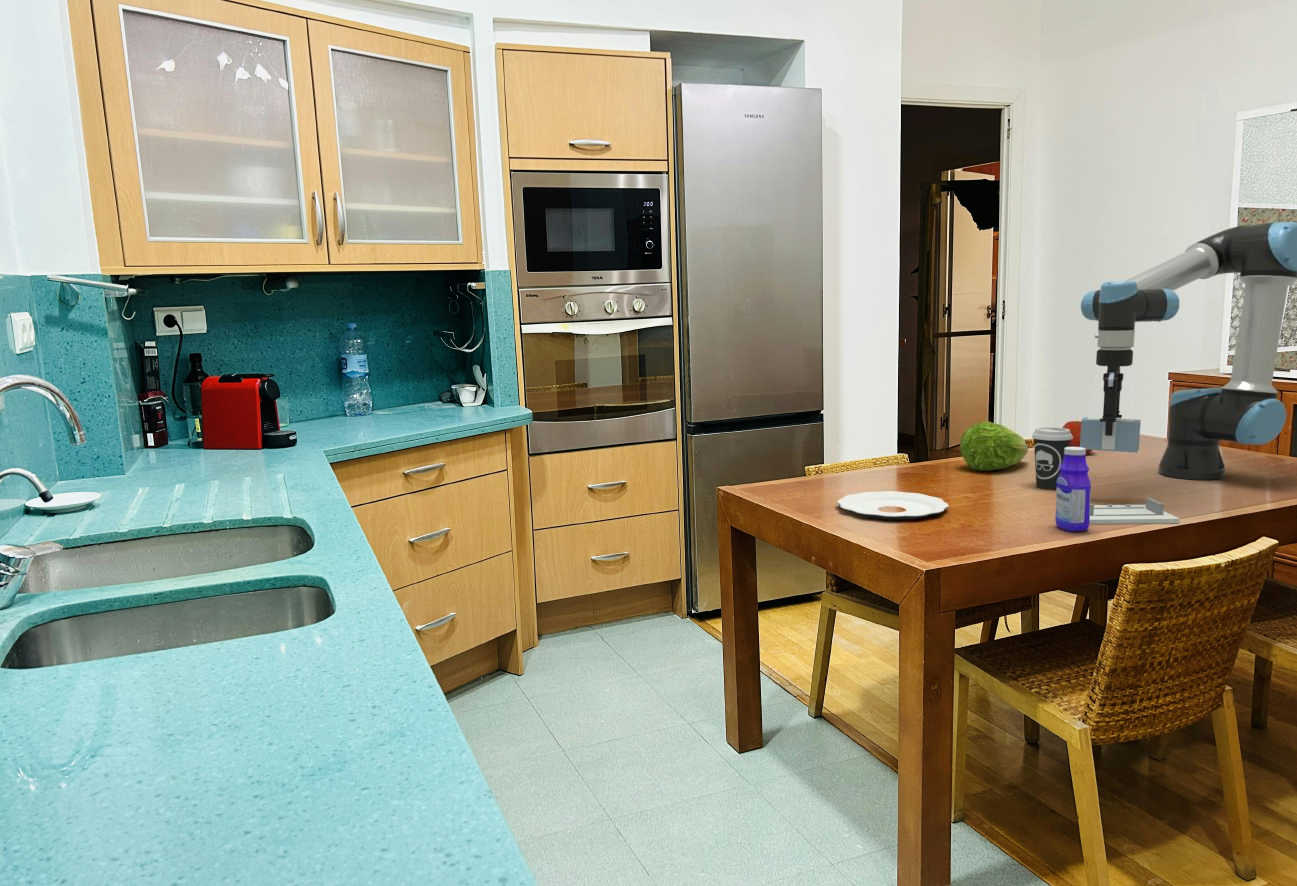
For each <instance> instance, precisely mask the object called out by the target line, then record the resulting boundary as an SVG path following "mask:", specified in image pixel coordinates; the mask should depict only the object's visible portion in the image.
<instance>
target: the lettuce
mask: <svg viewBox="0 0 1297 886" xmlns="http://www.w3.org/2000/svg"><path fill="white" fill-rule="evenodd" d="M959 451H960V454H961V457H962V458H963V460H964V462H965V463H967V465H968V467H969V468H970V469H971V470H974V471H975V470H976V471H980V472H981V471H982V472H983V471H984V472H985V471H986V472H987V471H988V472H989V471H999V470H1003V469H1007V468H1010V467H1011V466H1013V465H1016V464H1018V463H1020V462H1021V461H1022V460H1023V459H1024V458H1025V456H1027V454H1028V453H1029V447H1028V445H1027V442H1026V441H1025V439H1024V438H1023V437H1022V436H1021V435H1020V434H1018V433H1016V432H1014V431H1013V430H1011V429H1010V428H1008V427H1006V426H1005V425H1001V424H1000V423H995V422H991V421H981V422H978V423H976V424H973V425H972V426H970V427H969V428H967V429H965V430H964V431H963V433H962V435H961V437H960V440H959Z"/></svg>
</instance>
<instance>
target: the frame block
mask: <svg viewBox="0 0 1297 886" xmlns="http://www.w3.org/2000/svg"><path fill="white" fill-rule="evenodd" d="M1100 419H1103V418H1102V417H1092V416H1091V417H1090V416H1089V417H1087V416H1085V417H1083V418H1082V419H1081V421H1080V422H1081V437H1080V447H1082V448H1085V449H1088V450H1092V451H1105V452H1119V453H1121V452H1123V453H1124V452H1125V453H1135V454H1136V453H1138V451H1139V448H1140V437H1141V436H1140V434H1141V423H1142V422H1141V419H1133V418H1128V419H1127V418H1116V421H1115V422H1116V437H1115V450H1109V449H1102V432H1103V422H1100Z"/></svg>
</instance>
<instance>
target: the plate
mask: <svg viewBox="0 0 1297 886" xmlns="http://www.w3.org/2000/svg"><path fill="white" fill-rule="evenodd" d="M836 503H837V504H838V505H839V506H840V507H839V508H841V509H842V510H844V511H847V512H851V513H853V514H856V515H858V516H862V517H864V518H865V517H866V518H870V519H871V518H872V519H877V520H889V521H890V520H893V521H896V520H897V521H898V520H900V521H902V520H903V521H905V520H915V519H923V518H928V517H930V516H933V515H938V514H939V515H940V514H941V513H944V511H945V510H946V509H948V508H949V506H950V505H949V503H947V502H945V501H944V500H943V499H942V498H940V497H936V496H930V495H927V494H924V493H918V492H905V491H895V490H893V491H892V490H890V491H889V490H888V491H886V490H885V491H884V490H883V491H864V492H859V493H853V494H852V493H851V494H846V495H844V496H843V497H842V498H840V499H837V501H836ZM883 507H897V508H903V509H904V510H905V511H901V512H900V511H899V512H885V511H881V510H880V509H879V508H883Z"/></svg>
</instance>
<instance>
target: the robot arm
mask: <svg viewBox="0 0 1297 886" xmlns="http://www.w3.org/2000/svg"><path fill="white" fill-rule="evenodd" d="M1238 273H1239V279H1240V281H1241V282H1242V283H1243V284H1244V285H1245V288H1244V292H1243V293H1244V295H1243V299H1242V301H1243V302H1242V306H1241V313H1240V318H1239V324H1238V331H1237V337H1236V342H1235V343H1236V344H1235V351H1234V356H1233V362H1232V369H1231V374H1230V379H1229V382H1228V383H1226V384H1225V385H1223V386H1222V387H1217V388H1216V387H1213V388H1212V387H1211V388H1210V387H1209V388H1195V389H1183V390H1182V389H1181V390H1176V391H1174V392H1172V394H1171V396H1170V404H1169V412H1168V413H1169V414H1168V416H1169V417H1168V434H1167V435H1168V437H1167V438H1168V439H1167V445H1166V448H1165V450H1164V453H1163V455H1162V457H1161V459H1160V462H1159V464H1158V473H1159V474H1160V475H1163V476H1166V477H1170V478H1177V479H1185V480H1197V481H1198V480H1201V481H1203V480H1206V481H1207V480H1208V481H1209V480H1219V479H1223V478H1225V477H1226V467H1225V463H1224V460H1223V457H1222V454H1221V450H1220V441H1225V442H1230V443H1231V442H1232V443H1238V444H1241V445H1254V446H1255V445H1257V446H1262V445H1265V444H1268V443H1270V442H1272V441H1273V440H1274V439H1275V438H1276V437H1278V436H1279V434H1280V433H1281V431H1282V430H1283V429H1284V426H1285V423H1286V419H1287V409H1286V408H1285V407H1286V406H1285V404H1284V403H1283V402H1282V401H1280V400H1279V399H1278V395H1279V394H1278V393H1279V391H1278V390H1277V389H1276V388H1275V387H1274V386H1273V379H1274V378H1273V377H1274V372H1275V366H1276V361H1277V360H1276V359H1277V355H1278V354H1277V353H1278V350H1279V349H1278V348H1279V344H1280V343H1279V342H1280V335H1281V329H1282V325H1283V318H1284V314H1285V313H1284V310H1285V306H1286V300H1287V295H1288V287H1289V286H1291V285H1292V284H1293V283H1295V282H1296V281H1297V221H1276V222H1270V223H1269V222H1268V223H1259V224H1251V225H1238V226H1234V227H1231V228H1227V229H1225V230H1222V231H1219V232H1217V233H1215V234H1212V235H1210V236H1208V237H1204V238H1203V239H1201V240H1199V241H1197V242H1195V243H1193V244H1191V245H1189V246H1188V247H1187V248H1186V249H1185V251H1184V252H1183V253H1181V254H1178V255H1176V256H1174V257H1172V258H1170V259H1168V260H1166V261H1164V262H1161V263H1160V264H1158V265H1155V266H1153V267H1151V268H1149V269H1147V270H1145V271H1143V272H1140V273H1139V274H1137V275H1135V276H1133V277H1130V278H1128V279H1126V280H1124V281H1121V280H1120V281H1105V282H1103V283H1102V284H1101V286H1100V289H1097V290H1090V291H1088V292H1087V293H1085V295H1084V296H1083V297H1082V299H1081V301H1080V302H1081V303H1080V309H1081V310H1080V311H1081V315H1083V317H1084V318H1085V319H1087V320H1089V321H1097V322H1098V325H1097V327H1098V328H1097V330H1098V331H1097V334H1095V335H1094V339H1097V344H1096V347H1097V348H1099V349H1097V350H1096V361H1095V364H1096V365H1097V366H1099V367H1107V369H1106V372H1105V373H1103V376H1102V381H1103V393H1104V394H1103V408H1102V409H1103V411H1102V417H1101V418H1103V419H1100V422H1103V432H1102V449H1109V450H1115V437H1116V422H1115V421H1116V419H1123V414H1120V411H1121V410H1120V401H1121V391H1122V389H1123V381H1124V373H1123V372H1122V373H1121V367H1130V366H1132V365H1133V363H1134V362H1133V361H1134V360H1133V358H1134V351H1133V349H1132V348H1133V347H1134V346H1135V333H1136V332H1135V331H1136V330H1135V327H1136V323H1140V322H1141V323H1142V322H1143V323H1147V322H1158V323H1161V322H1164V321H1169V320H1171V319H1173V318H1174V317H1175V316H1176V315H1177V313H1178V312H1179V309H1180V299H1179V296H1178V294H1177V293H1176V292H1175V290H1179V289H1180V288H1182V287H1184V286H1186V285H1188V284H1190V283H1192V282H1194V281H1196V280H1206V279H1210V278H1212V277H1215V276H1217V275H1225V274H1238Z"/></svg>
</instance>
